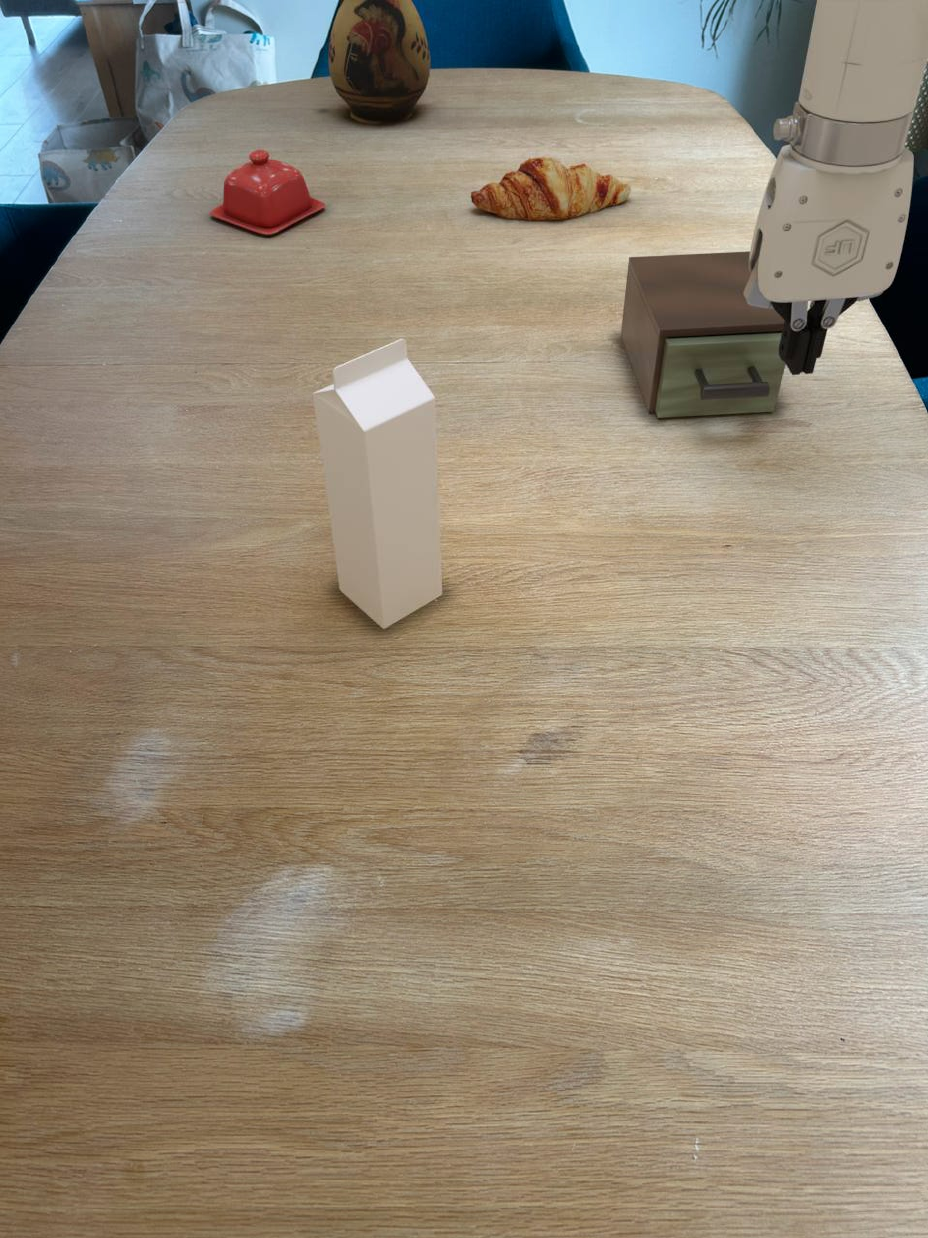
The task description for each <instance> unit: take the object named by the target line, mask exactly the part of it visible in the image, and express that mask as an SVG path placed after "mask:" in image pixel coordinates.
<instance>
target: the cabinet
mask: <svg viewBox="0 0 928 1238" xmlns="http://www.w3.org/2000/svg"><path fill="white" fill-rule="evenodd" d="M749 256H750V250H748V251H729V252H710V253H708V252H707V253H689V254H686V253H685V254H670V255H669V254H667V255H665V254H664V255H648V256H645V255H644V256H629V257H628V262H627V264H628V265H627V273H626V274H627V275H626V283H625V291H624V292H625V293H624V300H623V310H622V318H621V319H622V320H621V328H620V341H621V343H622V344H621V345H622V347H623V349H624V352H625V355H626V357H627V359H628V362H629V365H630V368H631V371H632V374H633V377H634V379H635V382H636V384H637V388H638V390H639V393H640V396H641V398H642V401H643V403H644V404H643V405H644V406H645V410H646V412H647V414H648V415H657V414H656V412H655V409H656V402H657V395H658V388H659V382H660V375H661V368H662V361H663V354H664V347H665V340H666V339H667V337H680V336H699V335H718V334H737V333H756V332H774V333H782V330H783V326H784V321H785V320H784V319H783V318H782V317H781V316H780V315H779V314H778V313H777V312H776V311H775V309H771V308H769V309H766V308H760V307H754V306H750V305H748V303H747V302H746V300H745V298H744V296H743V292H744V289H745V287H746V285H747V282H748V280H749V278H750V275H751V273H750V272H749ZM785 366H787V365H786V363H785ZM785 368H786V367H785ZM785 368H784V370H786V369H785ZM784 372H785V371H784ZM784 372H783V374H784ZM783 377H784V375H783V376H782V378H783ZM782 381H783V379H782V380H781V382H782ZM781 385H782V383H781V384H780V386H781ZM780 389H781V387H780V388H779V390H780ZM779 393H780V391H779V392H778V396H777V400H776V404H775V407H776V406H777V401H778V397H779Z"/></svg>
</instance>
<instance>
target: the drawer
mask: <svg viewBox="0 0 928 1238" xmlns="http://www.w3.org/2000/svg"><path fill="white" fill-rule="evenodd" d="M781 335H782V333H774V332H756V333H737V334H734V335H731V336H712V337H693V338H684V337H685V336H680V337H667V339H666V340H665V347H664V354H663V361H662V368H661V375H660V382H659V388H658V395H657V402H656V409H655V412H656V414H655V415H656V416H657V419H660V418H662V419H663V418H679V417H680V418H681V417H697V416H699V417H700V416H716V415H718V416H719V415H732V414H733V415H735V414H751V413H767V412H771V413H772V412H775V409H776V406H775V404H776V405H777V402H776V400H777V401H778V398H777V396H778V397H779V394H778V392H779V393H780V389H781V385H782V381H783V377H784V373H783V372H785V369H784V368H786V365H785V362H784V361H782V360H781V358H780V356H779V345H780V340H781ZM782 376H783V377H782ZM781 380H782V381H781ZM780 384H781V385H780ZM779 388H780V389H779Z"/></svg>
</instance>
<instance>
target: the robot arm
mask: <svg viewBox="0 0 928 1238" xmlns="http://www.w3.org/2000/svg"><path fill="white" fill-rule="evenodd" d="M927 63H928V0H816V4H815V9H814V15H813V21H812V26H811V32H810V37H809V42H808V47H807V53H806V58H805V63H804V69H803V74H802V78H801V84H800V85H801V86H800V89H799V90H800V91H799V95H798V101H795V102H794V105H793V110H792V113H791V115H787V116H786V117H785V118H776V120H775V121H774V124H773V130H772V131H773V132H772V133H773V139H774V140H775V141H785V142H789V144H786V145H783V146H782V147H781V148H780V151H779V153H778V156H777V158H776V160H775V163H774V165H773V168H772V170H771V173H770V176H769V179H768V181H767V184H766V187H765V191H764V193H763V196H762V197H763V198H762V200H761V204H760V207H759V210H758V214H757V219H756V222H755V226H754V231H753V236H752V240H751V244H750V250H749V251H750V256H749V272H750V273H751V275H750V278H749V280H748V282H747V285H746V287H745V289H744V292H743V296H744V298H745V300H746V302H747V303H748V305H750V306H754V307H760V308H766V309H769V308H771V309H775V311H776V312H777V313H778V314H779V315H780V316H781V317H782V318H783V319H784V320H785V321H784V326H783V330H782V335H781V340H780V345H779V356H780V358H781V360H782V361H784V362H785V363H786V365H785V366H786V368H787V369H788V371H789V372H790V374H791V375H792V376H798V375H801V374H802V373H803V374H805V375H811V374H813V373H814V371H815V367H816V362H817V359H820V358H821V356H822V353H823V351H824V350H823V349H824V346H825V341H826V337H827V334H828V329H831V328H833V327H834V326H835V325H836V323H837V321H838V318H839V316H841V315H842V314H843V313H845V312H846V311H847V310H849V308H851V307H852V306H853V305H855V303H856V302H862V301H866V300H869V299H872V298H876V297H879V296H881V295H882V294H883V293H884V291H886V290H887V289H888V288H890V286H891V285H892V283H893V282H894V279H895V278H896V274H897V270H898V267H899V263H900V259H901V254H902V251H903V245H904V241H905V236H906V231H907V225H908V219H909V213H910V207H911V200H912V199H911V198H912V191H913V190H912V189H913V179H914V164H915V163H914V159H915V158H914V156H915V155H914V154H913V152H912V150H910V149H908V148H907V147H906V146H905V145H906V142H907V138H908V134H909V130H910V126H911V122H912V119H913V115H914V112H915V107H916V104H917V100H918V97H919V93H920V89H921V85H922V81H923V78H924V74H925V70H926V67H927ZM809 302H810V304H809ZM808 307H809V309H808Z"/></svg>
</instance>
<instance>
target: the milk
mask: <svg viewBox="0 0 928 1238" xmlns="http://www.w3.org/2000/svg"><path fill="white" fill-rule="evenodd" d="M332 381H333V383H332V384H330V385H328V386H326V387H323V388H321V389H319V390H316V391H314V392H313V393H312V400H313V407H314V414H315V422H316V429H317V435H318V445H319V450H320V451H319V452H320V458H321V466H322V471H323V480H324V486H325V494H326V500H327V501H326V502H327V509H328V516H329V523H330V529H331V537H332V545H333V551H334V559H335V567H336V573H337V574H336V575H337V580H338V587H339V591H340V592H341V593H342V594H343V595H345V596H346V598H348V599H349V600H350V601H351V602H352V603H353V604H355V605H356V606H357V607H358V608H359V609H360V610H361V611H363V613H365V614H366V615H367V616H368V617H369V618H370V619H372V621H373V622H375V623H376V624H377V625H378V626H379V627H380V628H382V629H383V630H385V629H387V628H389V627H390V626H391V625H392V626H393V624H395V623H396V622H398V621H400V620H401V619H404V618H405V617H408V615H411V614H412V613H414V612H415V611H417V610H419V609H421V608H422V607H424V606H425V605H427V604H429V603H430V602H432V601H434V600H436V599H437V598H439V597H441V596H442V595H443V577H442V576H443V575H442V573H443V572H442V549H441V548H442V547H441V521H440V501H439V500H440V498H439V497H440V496H439V495H440V494H439V471H438V469H439V468H438V444H437V443H438V442H437V417H436V415H437V414H436V398H435V395H434V394H433V392H432V391H431V390H430V388H429V387H428V385H427V383H425V381H424V379H423V378H422V377H421V375H420V374H419V372H418V371H417V370H416V368H415V367H414V365H413V364H412V363H411V361H410V360H409V358H408V346H407V341H406V340H405V339H404V338H400V339H397V340H396V341H393V342H390V343H388V344H386V345H384V346H381V347H379V348H377V349H375V350H372V351H370V352H367V353H365V354H363V355H360V356H358V357H356V358H353V359H351V360H349V361H347V362H344V363H341V364H339V365H337V366H335V367H334V368H333V370H332Z"/></svg>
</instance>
